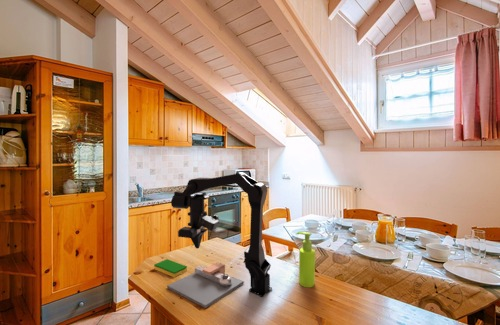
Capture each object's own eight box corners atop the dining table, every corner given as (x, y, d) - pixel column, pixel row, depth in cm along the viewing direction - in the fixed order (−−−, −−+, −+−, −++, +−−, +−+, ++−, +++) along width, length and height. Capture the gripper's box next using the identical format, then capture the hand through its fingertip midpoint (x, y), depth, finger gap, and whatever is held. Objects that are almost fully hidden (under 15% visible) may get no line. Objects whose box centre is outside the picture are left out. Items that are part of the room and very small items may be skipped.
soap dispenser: (299, 277, 106) (300, 229, 105) (316, 282, 102) (316, 231, 102) (294, 284, 101) (294, 233, 100) (311, 288, 97) (312, 236, 96)
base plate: (243, 283, 101) (243, 281, 101) (205, 308, 85) (205, 305, 85) (206, 268, 114) (206, 266, 114) (167, 288, 98) (167, 285, 98)
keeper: (224, 274, 107) (224, 264, 106) (209, 283, 100) (209, 272, 100) (217, 271, 109) (217, 262, 109) (202, 279, 102) (202, 269, 102)
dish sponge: (174, 278, 107) (174, 272, 107) (153, 269, 115) (153, 264, 114) (187, 271, 112) (187, 266, 112) (167, 263, 120) (167, 258, 120)
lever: (234, 282, 99) (234, 274, 99) (226, 288, 95) (225, 279, 95) (201, 269, 111) (201, 262, 110) (192, 274, 107) (192, 266, 107)
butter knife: (245, 254, 130) (240, 252, 131) (217, 279, 105) (211, 277, 106) (245, 255, 130) (240, 254, 131) (217, 280, 105) (211, 278, 106)
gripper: (203, 216, 92) (204, 260, 93) (225, 206, 110) (225, 242, 111) (176, 214, 96) (177, 256, 96) (201, 204, 113) (202, 239, 114)
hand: (197, 248), depth 104 cm, fingers closed
